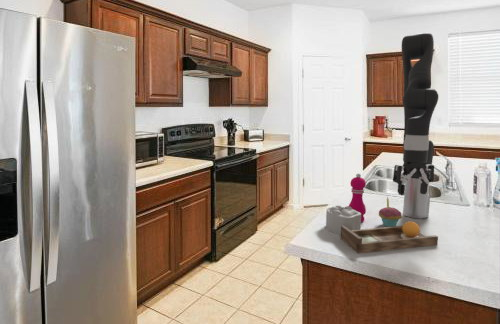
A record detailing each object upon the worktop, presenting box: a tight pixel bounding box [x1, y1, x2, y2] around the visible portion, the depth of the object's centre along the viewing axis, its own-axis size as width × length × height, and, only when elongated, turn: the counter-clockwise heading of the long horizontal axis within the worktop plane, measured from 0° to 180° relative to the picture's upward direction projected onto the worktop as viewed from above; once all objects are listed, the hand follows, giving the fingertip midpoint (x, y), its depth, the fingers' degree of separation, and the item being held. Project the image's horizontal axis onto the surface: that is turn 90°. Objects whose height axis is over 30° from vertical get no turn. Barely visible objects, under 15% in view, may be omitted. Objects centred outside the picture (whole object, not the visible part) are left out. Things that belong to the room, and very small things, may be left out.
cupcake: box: [378, 196, 403, 227], centre depth 132 cm, size 9×8×12 cm
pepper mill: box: [348, 173, 367, 223], centre depth 137 cm, size 7×7×20 cm
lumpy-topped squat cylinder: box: [325, 205, 362, 236], centre depth 128 cm, size 10×13×9 cm
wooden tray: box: [340, 225, 439, 254], centre depth 116 cm, size 30×12×5 cm, turn 102°
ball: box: [402, 220, 421, 237], centre depth 117 cm, size 6×6×6 cm
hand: (412, 194), depth 115 cm, fingers open, 8 cm apart
